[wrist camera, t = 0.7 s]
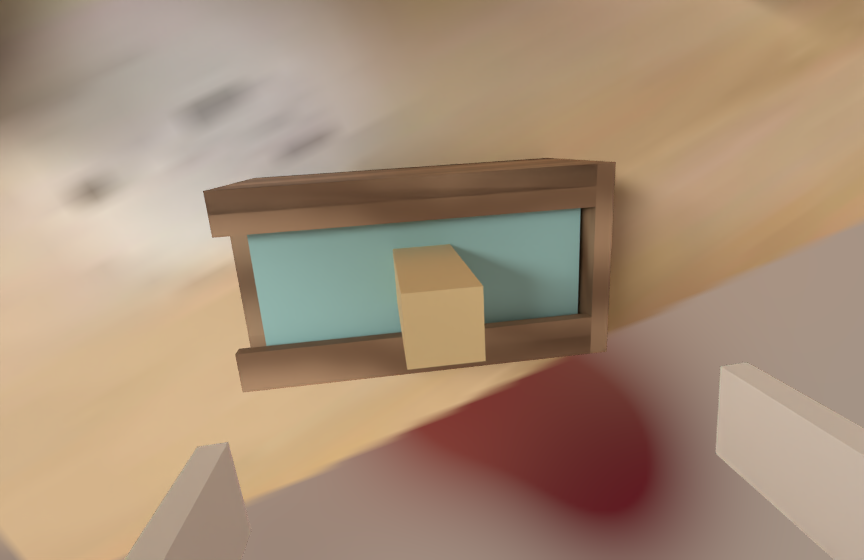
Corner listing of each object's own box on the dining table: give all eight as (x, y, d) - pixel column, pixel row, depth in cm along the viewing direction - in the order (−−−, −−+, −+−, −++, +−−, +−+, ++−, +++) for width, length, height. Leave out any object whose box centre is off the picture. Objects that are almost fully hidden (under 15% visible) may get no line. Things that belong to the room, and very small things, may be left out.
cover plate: (251, 213, 28) (181, 251, 18) (569, 189, 30) (670, 211, 20) (273, 343, 31) (223, 443, 20) (566, 313, 33) (655, 390, 22)
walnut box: (254, 178, 35) (203, 191, 25) (547, 158, 37) (615, 162, 27) (278, 325, 39) (242, 392, 28) (546, 299, 41) (606, 351, 30)
